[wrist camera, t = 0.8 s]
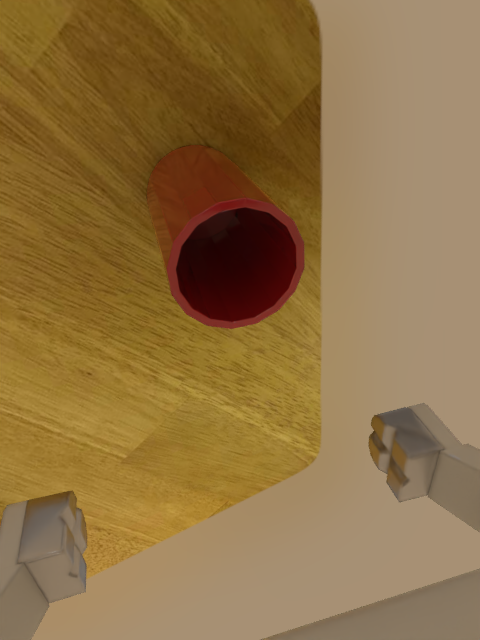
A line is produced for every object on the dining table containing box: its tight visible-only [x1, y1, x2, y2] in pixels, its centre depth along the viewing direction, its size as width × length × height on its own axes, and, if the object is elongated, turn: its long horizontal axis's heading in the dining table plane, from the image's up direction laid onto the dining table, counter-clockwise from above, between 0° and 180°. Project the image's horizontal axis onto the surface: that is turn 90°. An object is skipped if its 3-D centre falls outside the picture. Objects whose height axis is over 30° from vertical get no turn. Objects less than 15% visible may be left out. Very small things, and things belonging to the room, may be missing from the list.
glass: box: [147, 145, 304, 329], centre depth 24 cm, size 6×6×11 cm
